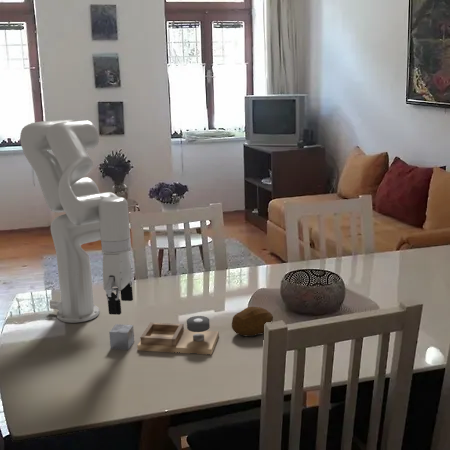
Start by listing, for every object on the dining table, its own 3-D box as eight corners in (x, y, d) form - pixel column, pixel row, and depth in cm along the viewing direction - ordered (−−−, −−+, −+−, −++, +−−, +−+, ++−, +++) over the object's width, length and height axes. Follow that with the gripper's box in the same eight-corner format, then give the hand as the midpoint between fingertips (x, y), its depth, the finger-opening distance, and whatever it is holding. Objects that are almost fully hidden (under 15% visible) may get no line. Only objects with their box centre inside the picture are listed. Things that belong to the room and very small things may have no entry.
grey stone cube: (110, 349, 165) (109, 331, 163) (116, 340, 169) (115, 324, 168) (128, 350, 164) (127, 332, 162) (134, 341, 169) (133, 325, 167)
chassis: (137, 350, 163) (136, 338, 162) (149, 332, 174) (148, 321, 173) (211, 354, 160) (211, 342, 159) (218, 336, 171) (218, 324, 170)
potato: (226, 332, 173) (225, 307, 171) (263, 323, 179) (263, 298, 177) (241, 343, 166) (240, 317, 164) (279, 333, 172) (279, 307, 170)
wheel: (184, 331, 162) (184, 324, 162) (189, 322, 168) (189, 315, 168) (207, 332, 161) (207, 325, 161) (211, 323, 167) (211, 316, 167)
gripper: (113, 236, 168) (118, 295, 172) (89, 254, 151) (96, 319, 155) (140, 236, 167) (144, 296, 171) (119, 254, 150) (124, 320, 154)
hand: (121, 307), depth 163 cm, fingers open, 9 cm apart
